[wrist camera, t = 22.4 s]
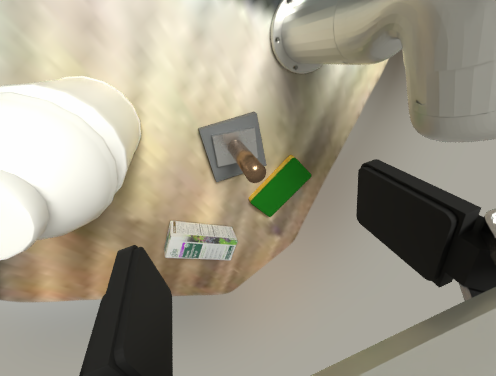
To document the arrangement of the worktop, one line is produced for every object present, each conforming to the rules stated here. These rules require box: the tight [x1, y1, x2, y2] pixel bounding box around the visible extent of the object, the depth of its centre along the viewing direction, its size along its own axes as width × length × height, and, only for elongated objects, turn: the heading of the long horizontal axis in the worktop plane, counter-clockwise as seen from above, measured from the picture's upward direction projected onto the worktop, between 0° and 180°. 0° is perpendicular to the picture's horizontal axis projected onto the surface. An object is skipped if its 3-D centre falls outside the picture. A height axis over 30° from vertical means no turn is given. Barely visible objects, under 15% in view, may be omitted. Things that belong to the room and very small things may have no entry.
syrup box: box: [165, 221, 238, 260], centre depth 51 cm, size 6×6×14 cm
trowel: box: [212, 127, 266, 183], centre depth 39 cm, size 8×6×13 cm
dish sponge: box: [249, 155, 311, 217], centre depth 53 cm, size 7×14×2 cm, turn 135°
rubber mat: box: [198, 112, 266, 182], centre depth 46 cm, size 11×11×2 cm
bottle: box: [0, 76, 141, 260], centre depth 26 cm, size 14×14×28 cm
